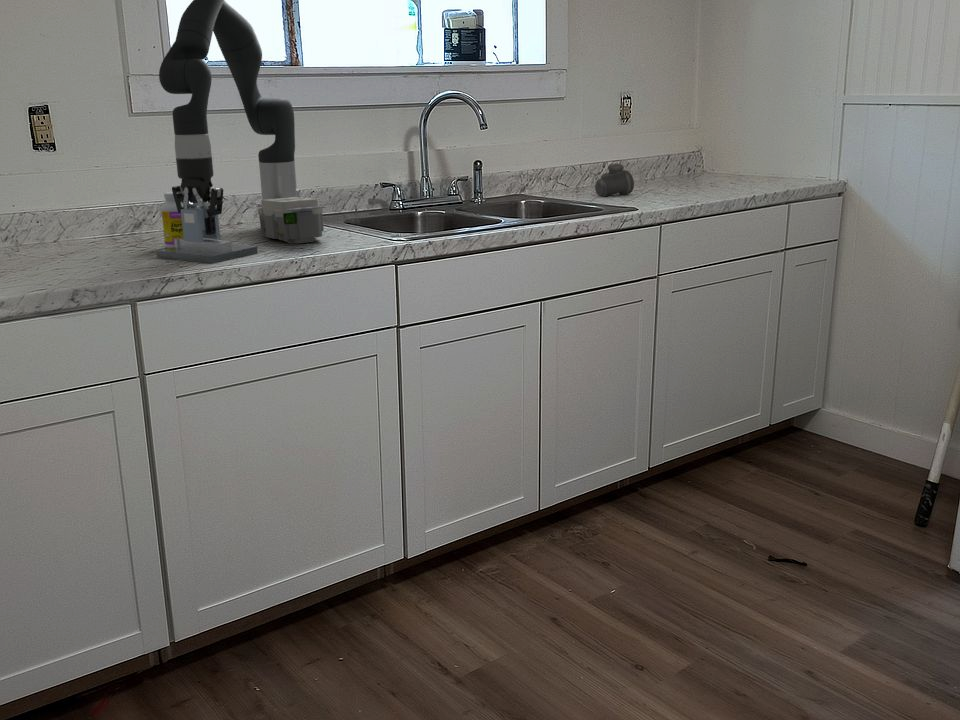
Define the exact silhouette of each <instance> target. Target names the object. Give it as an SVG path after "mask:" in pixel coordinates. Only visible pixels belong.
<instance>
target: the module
mask: <svg viewBox="0 0 960 720" xmlns="http://www.w3.org/2000/svg"><path fill="white" fill-rule="evenodd" d="M216 208H217V206H216ZM216 208H215V209H216ZM207 209H208V212H209V211H210V208H208V207H207ZM181 218H182V227H183V236H184V241H189V242H199V243H201V242H203V239H208V240H221V231H220V222H219V221H220V220H219V215H217V216H215V224H216V232H215V234H213V235H206V231H205V230H206V229H205V219H204V218H205V217H204V213H203V209H201V208H200V207H199V206H197V207H193V208H186V209H181Z"/></svg>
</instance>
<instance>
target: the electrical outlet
mask: <svg viewBox="0 0 960 720" xmlns="http://www.w3.org/2000/svg"><path fill="white" fill-rule="evenodd" d="M260 201H261V204H258V205H256V207H257V208H258V209H257V213H258V216H259V223H260V235H261V237H266V238H268V239H269V238H270V239H274V240H277V239H278V240H279V241H283V242H285V243H287V244H304V243H314V242H315V238H321V237H323V232H324V231H325V229H324V228H325V227H324V219H323V218H324V217H323V213H324V212H323V209H325V208H326V207H325V206H321V205H320V206H319V202H318V198H309V197H300V198H297V197H291V198H278V199H266V200H262V199H261V200H260Z"/></svg>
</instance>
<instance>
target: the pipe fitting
mask: <svg viewBox="0 0 960 720" xmlns="http://www.w3.org/2000/svg"><path fill="white" fill-rule="evenodd" d="M607 170H608V172H606V173H602V174H601V176H600V178H599V179H597V180H596V181H595V183H594V190H595V193H596V195H597V196H599V197H600V198H603V197H604V198H605V197H609V196H612V195H616V194H619V195H622V196H625V195H630V194H631V193H633V190H634V187H635V186H634V185H635V181H634V177H633V175H632V173H631V172H630V171H629V170H625V168H624V165H623V164H621V163H613V164H609V165H608V166H607Z"/></svg>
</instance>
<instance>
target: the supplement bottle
mask: <svg viewBox="0 0 960 720" xmlns="http://www.w3.org/2000/svg"><path fill="white" fill-rule="evenodd" d="M163 196H164V197H163V198H164V200H165V203H164V204H163V203H162V205H161V208H160V209H161V217H162V218H161V219H162V227H163V237H164V239H163V240H164V245H165V246H164V247H166V249H167V248H172V247H175V240H174V239H178V238H183V237H184V236H183V227H182V218H181V213H178V210H177V207H176V203H175V199H174V196H173V192H172V191H167V192H163ZM181 205H182V207H184V206H183V203H182V202H181ZM190 208H191V207H190Z"/></svg>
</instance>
